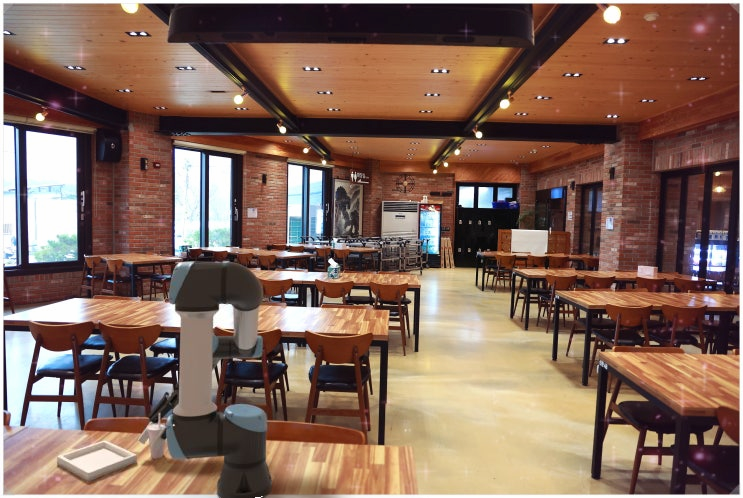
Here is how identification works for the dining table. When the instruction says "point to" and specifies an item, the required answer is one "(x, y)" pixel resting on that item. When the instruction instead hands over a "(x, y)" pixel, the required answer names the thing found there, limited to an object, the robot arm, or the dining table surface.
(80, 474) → the tray
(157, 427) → the smoothie
